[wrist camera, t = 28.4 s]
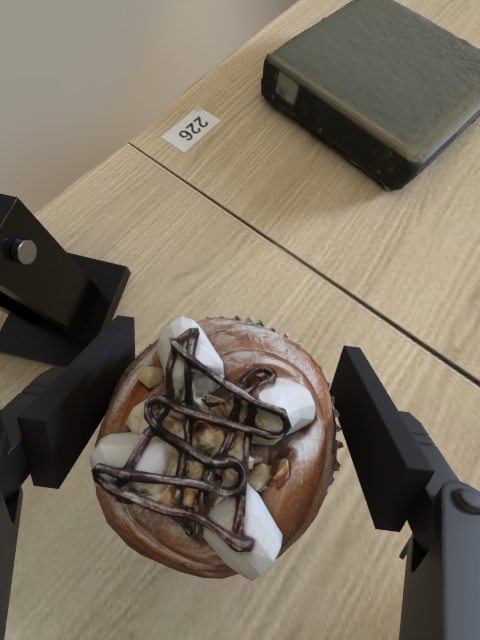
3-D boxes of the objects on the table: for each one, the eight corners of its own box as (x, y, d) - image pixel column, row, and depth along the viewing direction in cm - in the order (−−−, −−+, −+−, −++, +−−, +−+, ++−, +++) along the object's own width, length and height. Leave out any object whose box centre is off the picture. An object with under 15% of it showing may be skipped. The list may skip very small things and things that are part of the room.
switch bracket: (90, 374, 26) (-25, 329, 14) (0, 352, 26) (-193, 288, 14) (131, 272, 29) (66, 164, 17) (50, 253, 29) (-69, 132, 17)
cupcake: (294, 546, 15) (408, 733, 6) (111, 495, 16) (-54, 597, 6) (323, 365, 19) (426, 301, 9) (170, 325, 19) (120, 224, 10)
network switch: (341, 23, 44) (356, -25, 39) (492, 100, 40) (528, 56, 36) (245, 110, 37) (249, 64, 32) (416, 213, 33) (449, 177, 29)
